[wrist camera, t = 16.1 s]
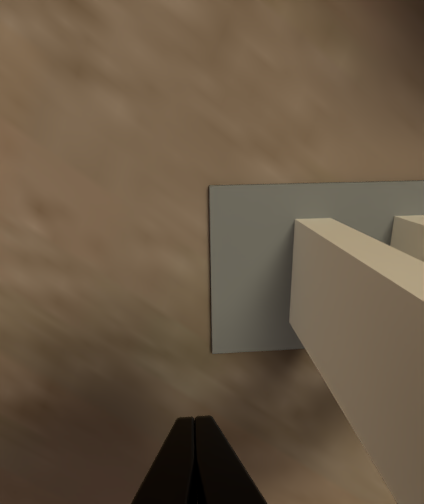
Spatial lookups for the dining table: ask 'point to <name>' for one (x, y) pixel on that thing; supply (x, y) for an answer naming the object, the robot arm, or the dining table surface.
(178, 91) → the dining table surface
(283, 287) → the domino mat
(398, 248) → the domino
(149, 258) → the dining table surface
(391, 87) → the dining table surface
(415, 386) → the domino
